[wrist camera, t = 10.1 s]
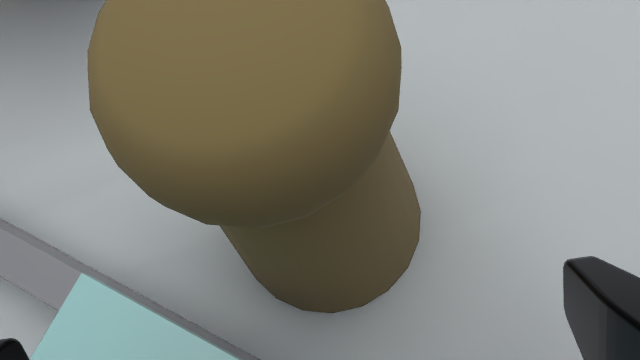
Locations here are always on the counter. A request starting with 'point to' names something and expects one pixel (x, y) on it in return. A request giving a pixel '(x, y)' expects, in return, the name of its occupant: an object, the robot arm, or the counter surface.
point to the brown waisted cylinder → (266, 133)
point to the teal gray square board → (100, 310)
